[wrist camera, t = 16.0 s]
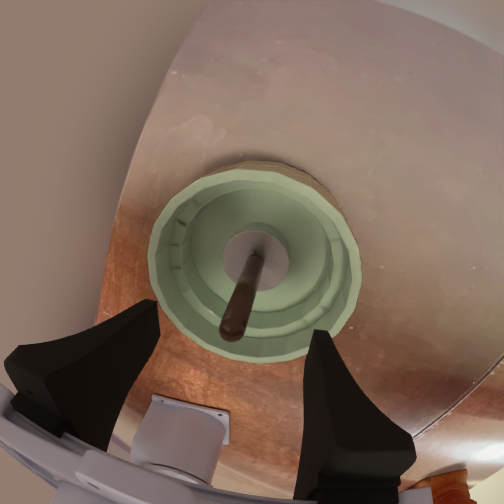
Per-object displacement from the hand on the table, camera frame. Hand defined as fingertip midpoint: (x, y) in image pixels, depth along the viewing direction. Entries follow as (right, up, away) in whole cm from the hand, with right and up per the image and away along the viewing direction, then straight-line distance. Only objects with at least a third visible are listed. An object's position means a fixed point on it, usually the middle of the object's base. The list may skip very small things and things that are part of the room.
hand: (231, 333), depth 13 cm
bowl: (+2, +4, +9) cm, 10 cm away
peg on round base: (+1, +4, +8) cm, 9 cm away
